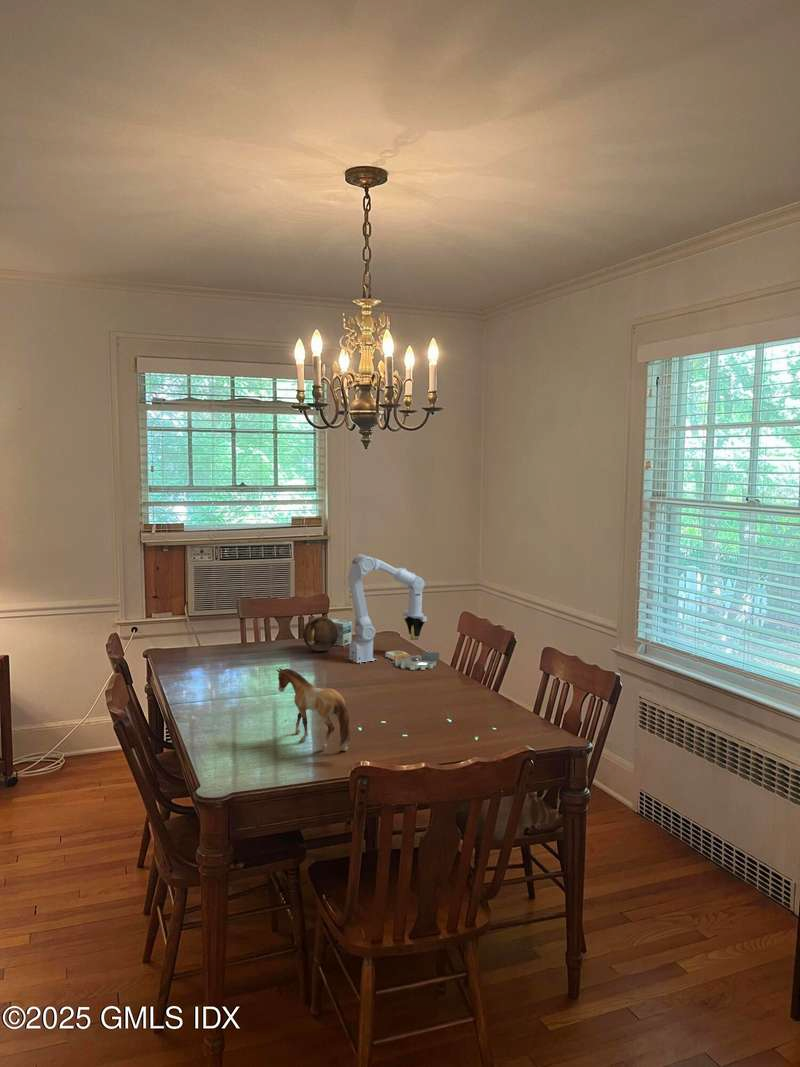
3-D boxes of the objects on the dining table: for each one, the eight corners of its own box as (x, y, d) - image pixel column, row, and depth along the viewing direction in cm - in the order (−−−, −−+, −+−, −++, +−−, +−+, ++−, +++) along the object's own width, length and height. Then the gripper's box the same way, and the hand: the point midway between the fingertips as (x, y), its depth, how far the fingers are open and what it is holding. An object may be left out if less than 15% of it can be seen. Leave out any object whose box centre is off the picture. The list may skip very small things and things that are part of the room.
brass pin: (413, 640, 322) (414, 626, 321) (409, 638, 324) (409, 625, 324) (419, 639, 323) (420, 625, 323) (415, 638, 326) (415, 624, 326)
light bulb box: (352, 644, 343) (352, 621, 342) (343, 647, 338) (343, 623, 337) (333, 641, 349) (333, 618, 348) (324, 643, 343) (324, 620, 342)
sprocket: (441, 669, 303) (441, 658, 302) (397, 670, 301) (397, 658, 301) (435, 659, 319) (435, 647, 319) (393, 659, 317) (393, 648, 317)
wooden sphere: (325, 645, 341) (325, 612, 339) (344, 652, 329) (344, 618, 328) (296, 649, 331) (296, 616, 330) (315, 657, 320) (315, 622, 318)
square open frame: (394, 660, 316) (395, 655, 316) (385, 657, 322) (385, 652, 321) (408, 658, 320) (408, 653, 320) (399, 655, 326) (399, 650, 326)
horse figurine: (274, 734, 228) (274, 667, 226) (294, 728, 234) (294, 663, 232) (344, 763, 207) (345, 690, 205) (364, 756, 213) (365, 684, 211)
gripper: (433, 605, 319) (432, 637, 320) (412, 600, 331) (412, 630, 332) (419, 607, 315) (418, 639, 316) (399, 601, 327) (398, 632, 328)
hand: (414, 635), depth 324 cm, fingers closed on brass pin, 3 cm apart
